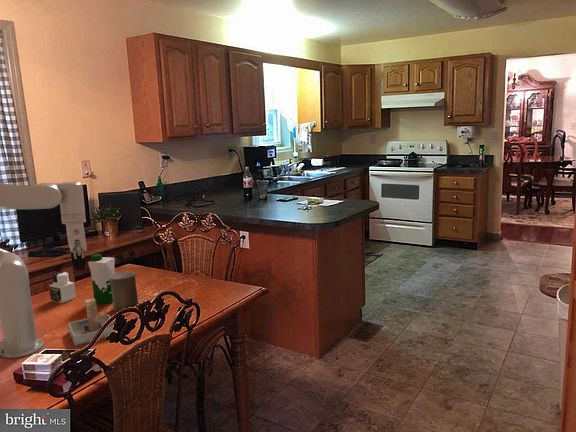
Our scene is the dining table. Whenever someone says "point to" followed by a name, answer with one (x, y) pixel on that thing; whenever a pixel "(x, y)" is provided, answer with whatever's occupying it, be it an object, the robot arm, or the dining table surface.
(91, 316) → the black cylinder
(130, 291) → the pillar candle
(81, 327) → the tin
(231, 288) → the dining table surface
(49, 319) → the dining table surface
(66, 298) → the medicine bottle
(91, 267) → the milk carton
